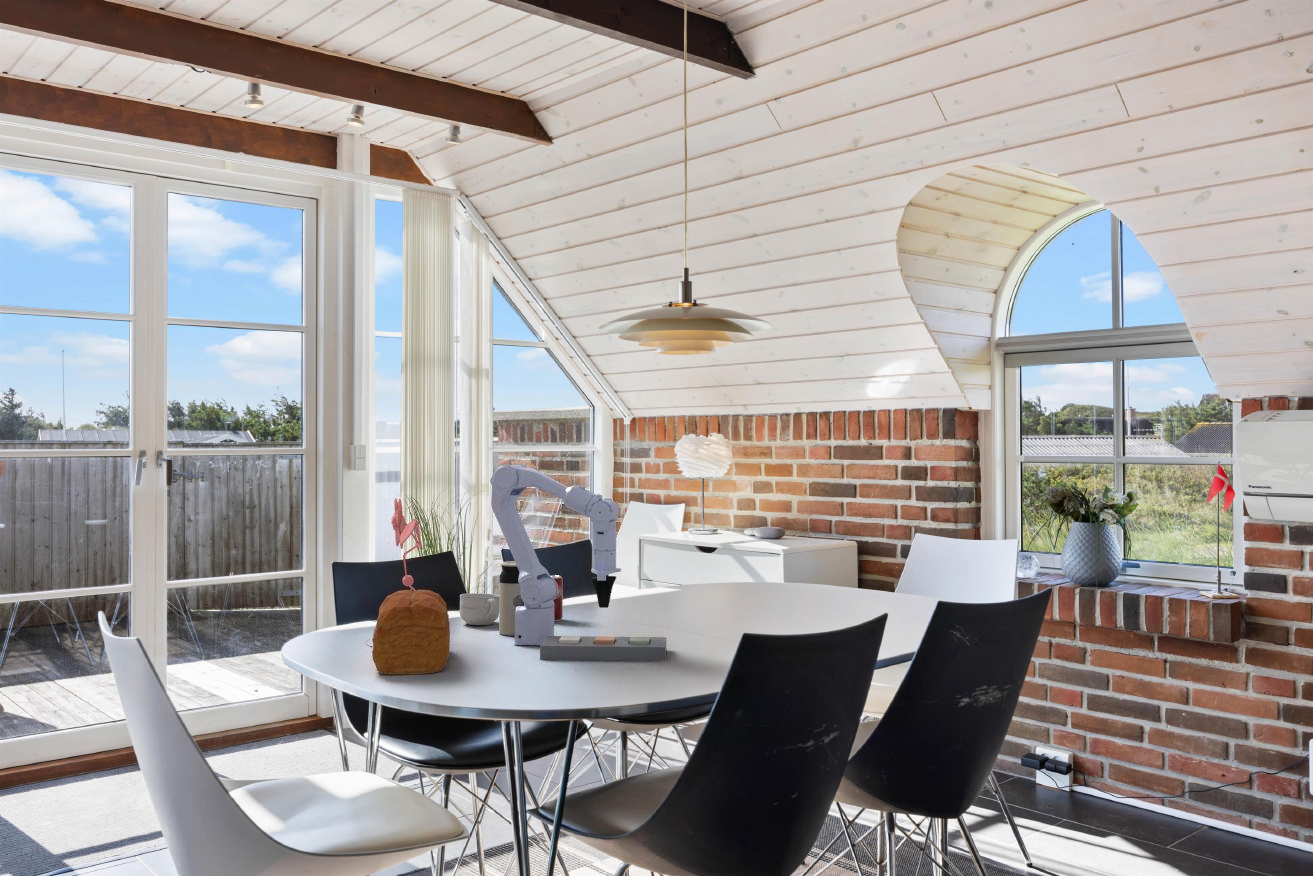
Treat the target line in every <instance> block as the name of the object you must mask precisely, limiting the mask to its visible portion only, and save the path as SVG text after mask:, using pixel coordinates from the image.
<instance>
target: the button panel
mask: <svg viewBox="0 0 1313 876" xmlns="http://www.w3.org/2000/svg"><path fill="white" fill-rule="evenodd" d="M561 636H562V635H554V636H547V637H546V639H545V640H544V641H543V643H542V644H541V645H539V660H551V661H552V660H555V661H556V660H567V661H639V662H640V661H642V662H643V661H645V662H647V661H650V662H654V661H656V662H658V661H660V662H662V661H663V662H665V661H666V659H667V637H666V636H665V637H664V636H649V637H650V644H630V637H631V636H614V637H615V644H597V643H594V640H595V638H596V637H599V635H598V636H594V635H593V636H591V635H590V636H589V635H588V636H586V635H585V636H583V635H580V636H581V642H580V643H559V639H560V638H561Z"/></svg>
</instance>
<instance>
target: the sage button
mask: <svg viewBox="0 0 1313 876" xmlns="http://www.w3.org/2000/svg"><path fill="white" fill-rule="evenodd" d="M629 637H630V644H650V637H651V636H629Z"/></svg>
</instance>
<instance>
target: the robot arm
mask: <svg viewBox="0 0 1313 876" xmlns="http://www.w3.org/2000/svg"><path fill="white" fill-rule="evenodd" d="M489 482H490V485H491V503H490V504H491V506H490V507H491V509H492V512H493V513H494V516H495V518H496V520H497V523H498V525H499V527H500V530H501V532H502V534H503V537H504V539H505V542H506V544H507V546H508V548H509V551H510V553H511V556H512V558H513V561H515V562H516V565H517V567H518V569H519V572H520V574H519V579H518V582H519V584H520V588H521V592H520V594H521V598H522V601H523V602H524V603H525V604H524V606H517V607H516V611H515V636H514V643H513V645H514V646H540V645H541V644H542V643H543V641H544V640H545V639H546V637H547V636H555V622H554V601H553V599H554V598H555V597H556V596H557V594H558V585H557V583H556V581H555V580H554V579H553V578H552V577H551V576H550V575H551V574H550V573H549V572H548V569H546V568H545V566H543V565H542V564H541V562H540V560H539V557H538V555H537V552H536V551H535V549H534V546H533V544H532V541H531V540H530V537H529V535H528V532H527V531H526V528H525V526H524V524H523V522H522V519H521V517H520V514H519V511H518V509H517V508H516V503H517V501H518V500H519V498H520V495H522V493H523V492H524V491H525V490H526V489H527V488H536V489H538V490H541V491H542V492H544V493H548V494H550V495H552V496H555V497H556V498H559V499H561V500H562V502H563V504H564V506H565V507H566V508H569V509H570V510H573V512H574V511H575V512H577V513H579V514H580V515H582V516H585V517H586V518H589V520H590V521H591V522H592V532H591V533H592V534H591V535H592V537H591V538H592V539H591V543H592V544H591V549H592V550H591V570H590V571H591V573H592V574H595V575H596V576H594V577H591V582H592V584H593V586H594V589H595V592H596V597H597V603H598V608H603V609H607V608H609V606H610V601H611V595H612V590H613V586H614V584H615V582H616V579H617V576H616V575H611V574H615V573H620V572H622V568H620V567H619V568H618V567H617V519H618V518H619V516H620V508H619V505H618V503H616V502H615V501H614V500H613V499H612V498H604V499H603V495H602V494H600V493H598V494H596V493H594V492H591V491H589V490H587V489H586V486H585V485H583V484H579V485H577V484H576V485H572V486H570V487H569V486H567V485H565V484H564V483H562V482H560V481H557V480H556V479H554V478H552V477H550V476H548V475H546V474H545V473H543V472H541V471H539V470H538V469H535V468H532V467H527V465H524V464H522V463H521V464H520V463H518V464H501V465H498V467H496V468H495V470H494V471H493V473H492V475H491V478H490V480H489Z"/></svg>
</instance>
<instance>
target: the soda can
mask: <svg viewBox="0 0 1313 876" xmlns="http://www.w3.org/2000/svg"><path fill="white" fill-rule="evenodd" d="M549 575H550V576H551V577H552V578H553V579H554V580H555V581H556V583H557V585H558V594H557V596H556V597H555V598H554V599H553V601H554V623H557V622H561V621H562V620H563V617H564V615H563V607H564V605H563V604H564V602H563V600H564V599H563V597H564V594H563V593H564V591H563V588H564V587H563V586H564V585H563V583H564V580H563V577H562V576H561V575H556V574H555V575H554V574H552V575H551V574H549Z"/></svg>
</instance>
